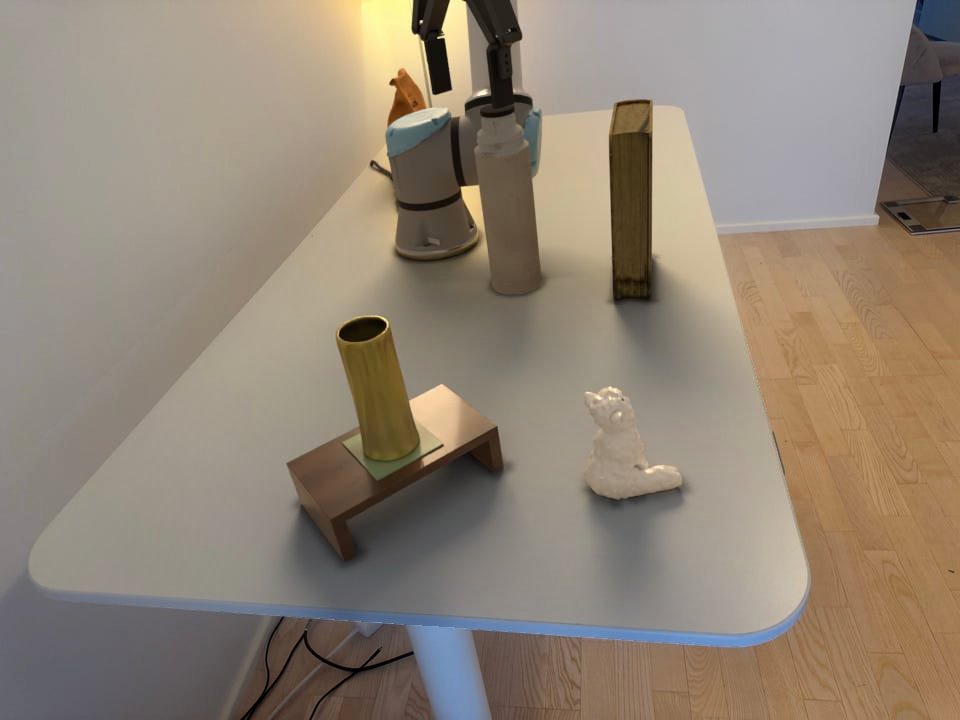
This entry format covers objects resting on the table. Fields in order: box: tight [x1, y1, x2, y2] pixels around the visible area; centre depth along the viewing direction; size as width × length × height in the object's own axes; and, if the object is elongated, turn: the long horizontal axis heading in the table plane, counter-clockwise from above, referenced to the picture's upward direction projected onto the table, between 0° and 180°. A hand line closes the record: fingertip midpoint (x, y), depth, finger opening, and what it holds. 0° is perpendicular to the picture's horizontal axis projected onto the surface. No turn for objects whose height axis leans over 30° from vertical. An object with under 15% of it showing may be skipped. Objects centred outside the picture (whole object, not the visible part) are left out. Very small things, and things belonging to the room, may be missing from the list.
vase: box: [335, 315, 419, 461], centre depth 72 cm, size 6×6×14 cm
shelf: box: [286, 383, 505, 563], centre depth 78 cm, size 11×20×6 cm, turn 126°
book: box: [608, 98, 654, 301], centre depth 106 cm, size 16×6×25 cm, turn 168°
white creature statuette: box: [583, 385, 683, 501], centre depth 72 cm, size 10×9×12 cm
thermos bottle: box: [474, 104, 542, 296], centre depth 108 cm, size 8×8×28 cm
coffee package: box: [386, 67, 428, 129], centre depth 163 cm, size 10×12×22 cm
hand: (471, 99), depth 91 cm, fingers open, 13 cm apart
